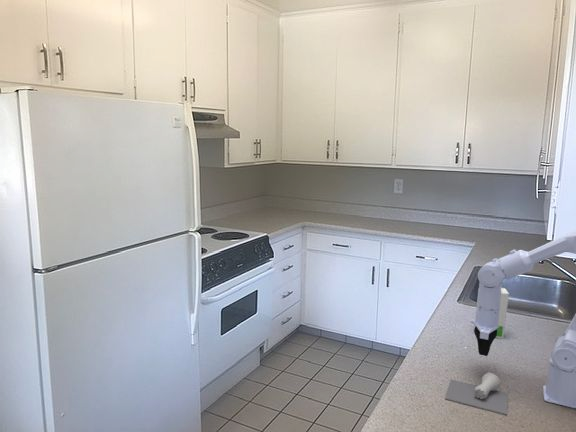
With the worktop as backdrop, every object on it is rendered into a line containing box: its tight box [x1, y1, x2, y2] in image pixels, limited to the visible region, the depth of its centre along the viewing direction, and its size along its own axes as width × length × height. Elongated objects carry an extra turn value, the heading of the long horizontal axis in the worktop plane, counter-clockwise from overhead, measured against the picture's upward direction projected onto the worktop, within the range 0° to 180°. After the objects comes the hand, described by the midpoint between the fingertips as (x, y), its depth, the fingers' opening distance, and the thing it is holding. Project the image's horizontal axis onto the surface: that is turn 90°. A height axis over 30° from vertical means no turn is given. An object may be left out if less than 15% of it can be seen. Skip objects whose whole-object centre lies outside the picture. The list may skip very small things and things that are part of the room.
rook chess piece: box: [474, 372, 501, 399], centre depth 118 cm, size 4×4×8 cm
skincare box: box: [474, 287, 510, 340], centre depth 155 cm, size 8×7×16 cm
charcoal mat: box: [444, 379, 509, 416], centre depth 118 cm, size 14×10×1 cm
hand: (483, 354), depth 128 cm, fingers closed
